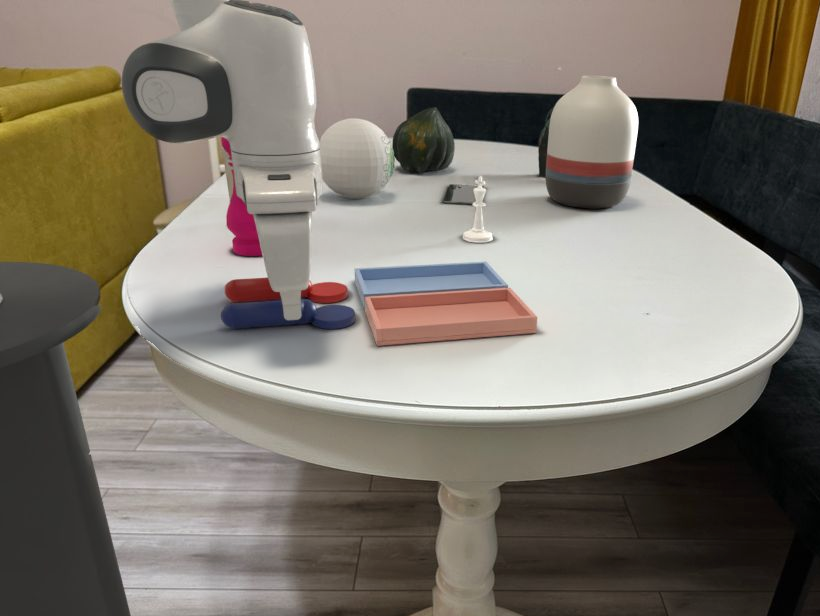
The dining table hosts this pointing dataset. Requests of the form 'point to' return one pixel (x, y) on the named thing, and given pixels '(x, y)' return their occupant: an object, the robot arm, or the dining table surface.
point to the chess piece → (478, 218)
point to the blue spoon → (274, 315)
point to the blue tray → (426, 279)
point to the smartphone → (460, 194)
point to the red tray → (448, 316)
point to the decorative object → (356, 158)
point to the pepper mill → (241, 219)
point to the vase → (591, 145)
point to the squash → (424, 142)
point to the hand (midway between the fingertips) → (291, 301)
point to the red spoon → (263, 292)
